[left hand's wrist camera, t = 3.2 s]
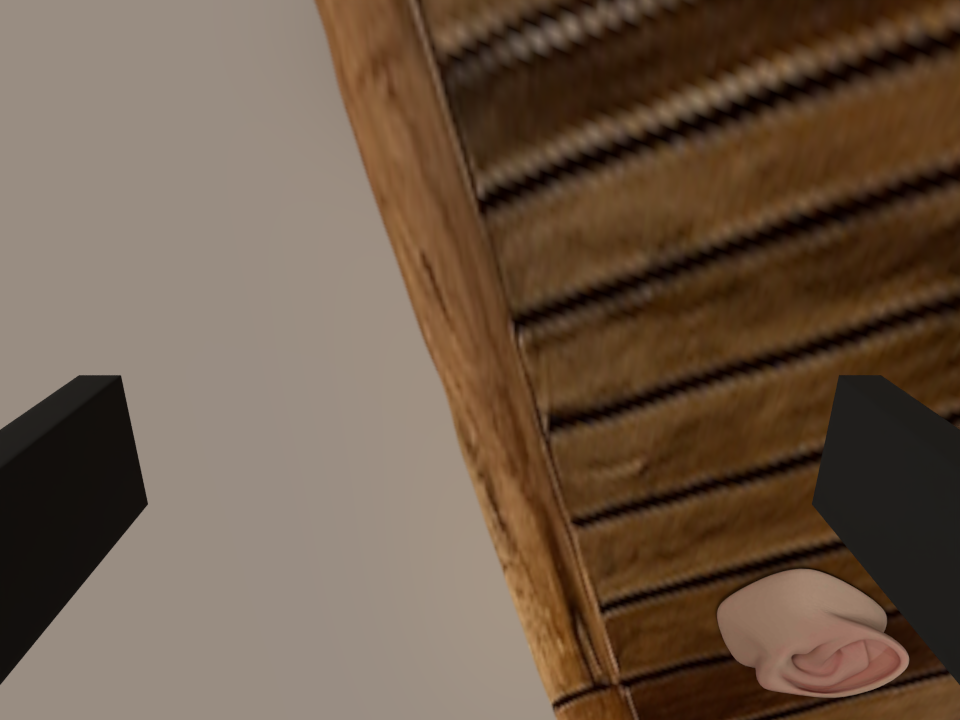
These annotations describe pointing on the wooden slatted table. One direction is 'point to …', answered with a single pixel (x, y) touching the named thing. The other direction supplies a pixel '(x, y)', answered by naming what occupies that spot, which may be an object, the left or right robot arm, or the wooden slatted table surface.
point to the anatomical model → (810, 635)
